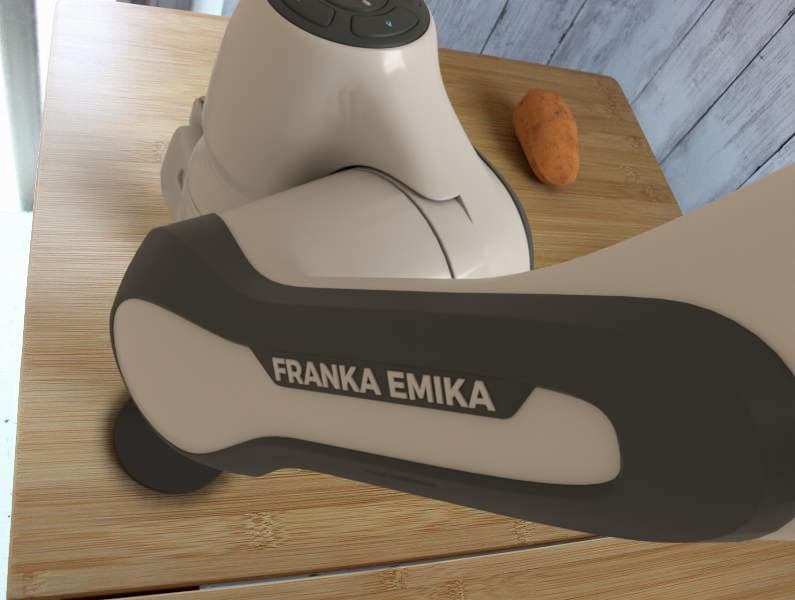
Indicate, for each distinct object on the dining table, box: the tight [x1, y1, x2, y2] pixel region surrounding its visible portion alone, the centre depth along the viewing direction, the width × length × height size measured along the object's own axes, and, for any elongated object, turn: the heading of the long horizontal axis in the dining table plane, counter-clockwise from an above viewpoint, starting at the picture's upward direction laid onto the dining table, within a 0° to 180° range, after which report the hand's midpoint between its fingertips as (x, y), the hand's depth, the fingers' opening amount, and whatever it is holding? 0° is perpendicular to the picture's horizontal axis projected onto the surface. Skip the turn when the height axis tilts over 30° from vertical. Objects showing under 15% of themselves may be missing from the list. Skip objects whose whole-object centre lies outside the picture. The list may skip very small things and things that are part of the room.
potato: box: [512, 88, 581, 188], centre depth 104 cm, size 7×13×7 cm, turn 16°
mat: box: [112, 396, 224, 495], centre depth 70 cm, size 10×10×1 cm
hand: (213, 339), depth 57 cm, fingers closed on candy box, 4 cm apart
